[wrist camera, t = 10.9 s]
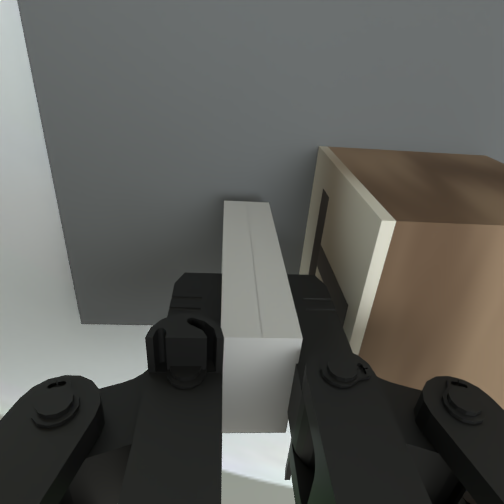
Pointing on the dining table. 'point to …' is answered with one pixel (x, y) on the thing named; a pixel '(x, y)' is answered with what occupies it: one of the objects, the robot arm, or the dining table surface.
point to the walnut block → (413, 261)
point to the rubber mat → (237, 119)
